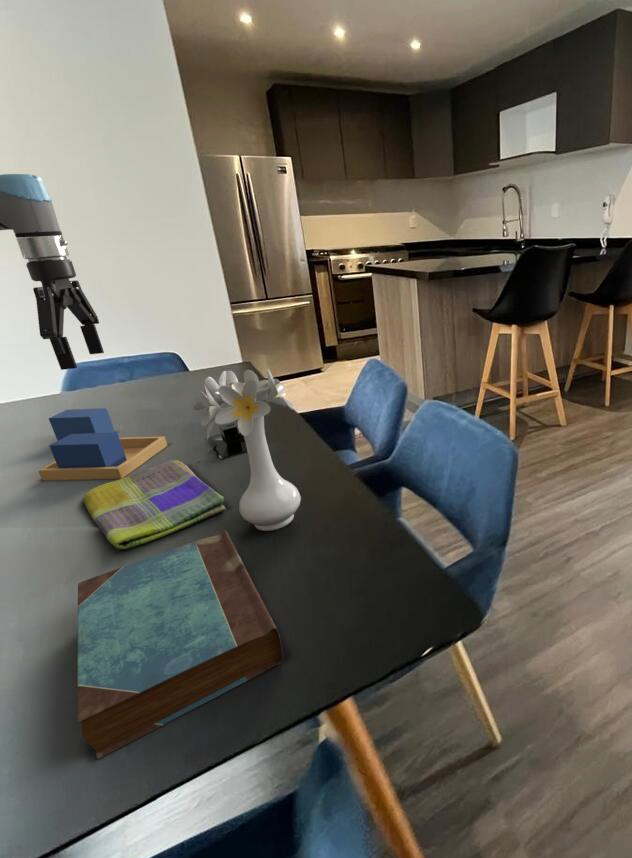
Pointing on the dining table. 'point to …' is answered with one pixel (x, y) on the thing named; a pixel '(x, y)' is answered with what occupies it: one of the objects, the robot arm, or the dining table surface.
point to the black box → (230, 441)
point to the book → (167, 639)
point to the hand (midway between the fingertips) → (84, 360)
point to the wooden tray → (135, 454)
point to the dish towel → (151, 504)
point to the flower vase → (252, 443)
